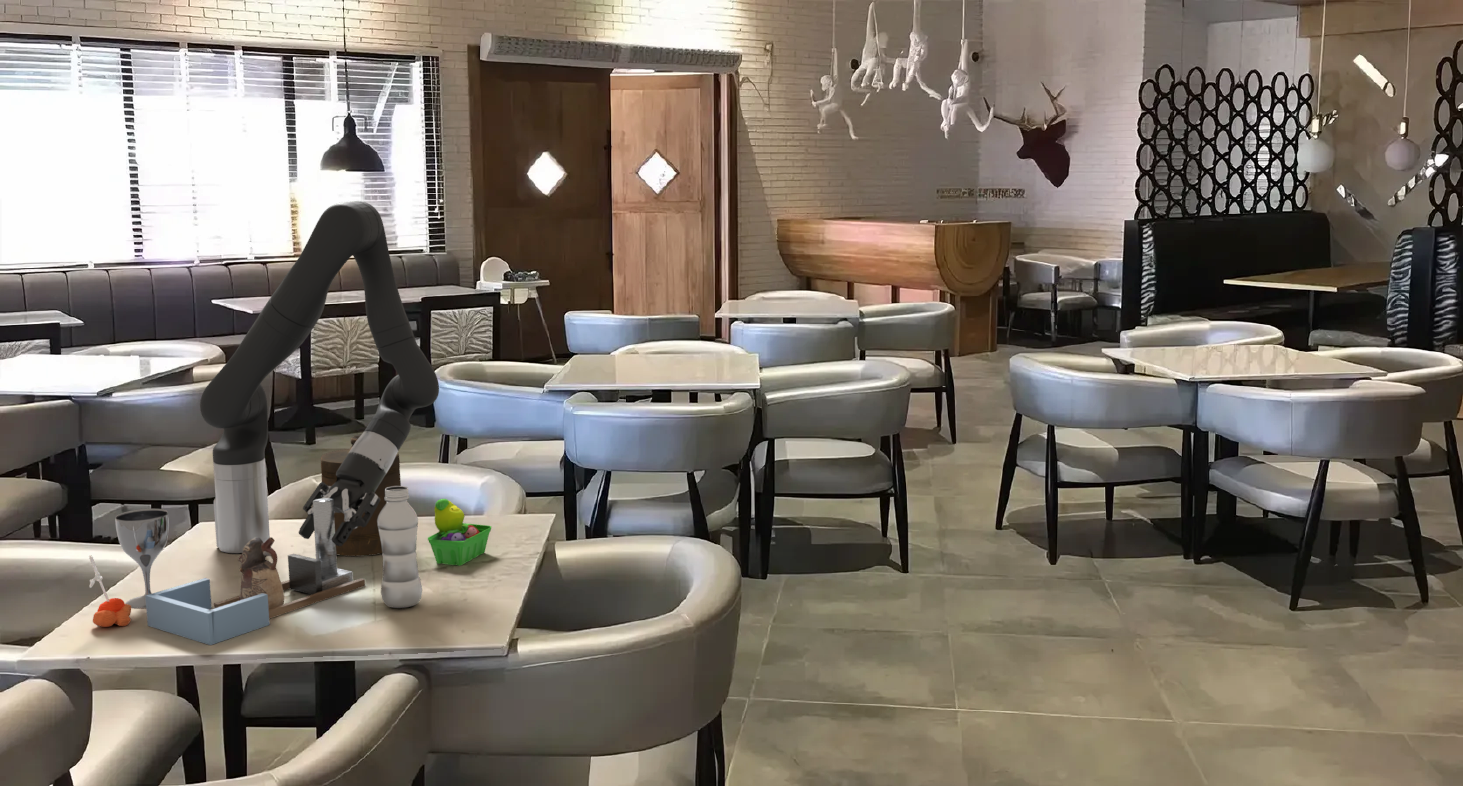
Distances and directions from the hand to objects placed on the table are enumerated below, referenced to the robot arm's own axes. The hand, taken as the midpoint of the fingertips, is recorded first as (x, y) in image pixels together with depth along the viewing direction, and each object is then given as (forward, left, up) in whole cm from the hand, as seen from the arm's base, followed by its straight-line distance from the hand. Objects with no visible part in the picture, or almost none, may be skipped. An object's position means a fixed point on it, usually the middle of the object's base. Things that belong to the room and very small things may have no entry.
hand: (319, 540), depth 213 cm
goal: (0, -22, -9) cm, 23 cm away
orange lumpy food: (-13, -31, -9) cm, 34 cm away
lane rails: (0, -6, -9) cm, 11 cm away
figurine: (0, -12, -9) cm, 15 cm away
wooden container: (-14, +22, -9) cm, 27 cm away
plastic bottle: (+19, +1, -9) cm, 21 cm away
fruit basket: (+7, +26, -9) cm, 28 cm away
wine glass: (-19, -20, -9) cm, 29 cm away
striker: (0, +1, -9) cm, 9 cm away
